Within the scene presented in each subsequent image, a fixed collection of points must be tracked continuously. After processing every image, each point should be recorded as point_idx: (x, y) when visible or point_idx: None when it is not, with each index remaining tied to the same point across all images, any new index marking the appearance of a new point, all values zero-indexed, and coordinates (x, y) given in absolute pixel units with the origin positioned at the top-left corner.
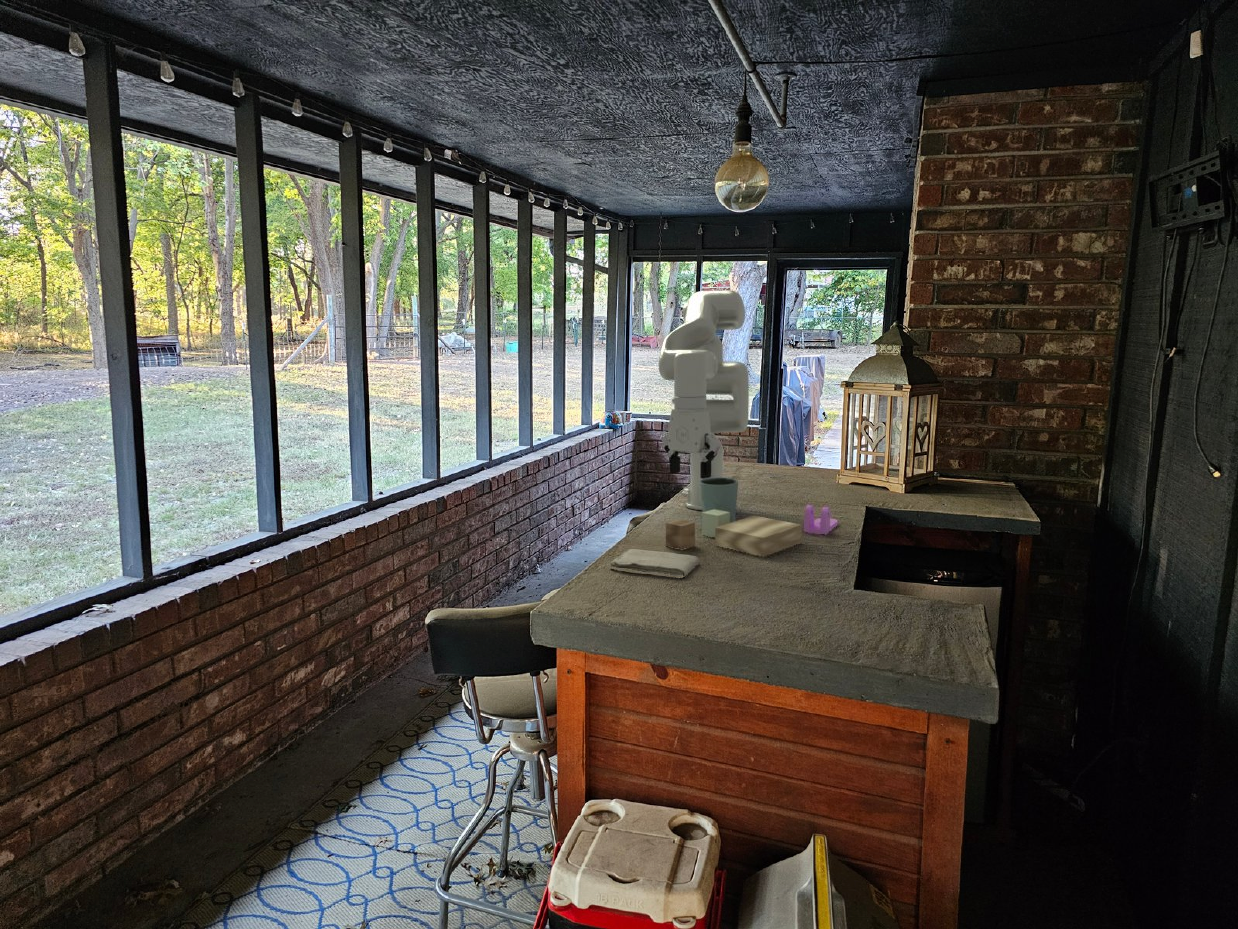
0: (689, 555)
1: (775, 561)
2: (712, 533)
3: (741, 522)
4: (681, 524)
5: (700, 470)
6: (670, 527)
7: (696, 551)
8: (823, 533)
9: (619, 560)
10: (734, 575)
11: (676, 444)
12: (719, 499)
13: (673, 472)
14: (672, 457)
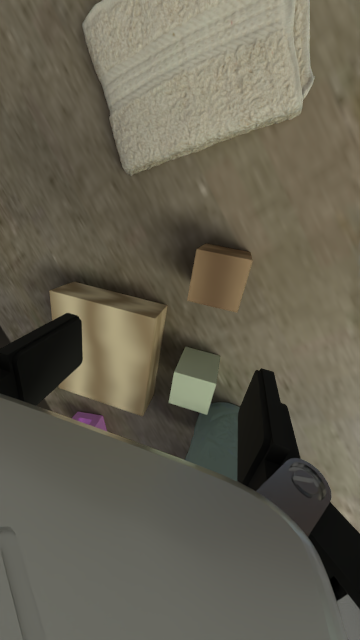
0: (135, 153)
1: (49, 269)
2: (195, 353)
3: (135, 369)
4: (206, 266)
5: (55, 333)
6: (235, 255)
7: (177, 254)
8: (78, 413)
9: None
10: (43, 147)
11: (139, 548)
12: (204, 446)
13: (253, 378)
14: (269, 456)
